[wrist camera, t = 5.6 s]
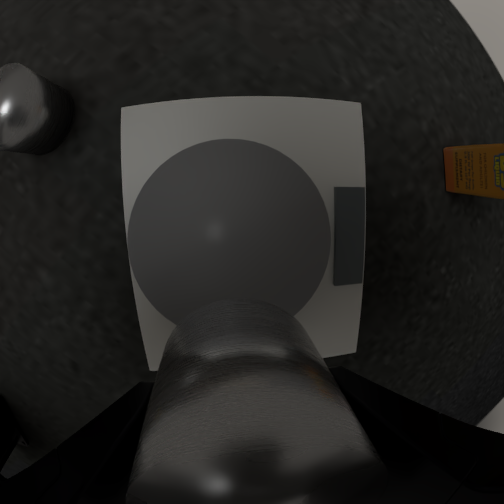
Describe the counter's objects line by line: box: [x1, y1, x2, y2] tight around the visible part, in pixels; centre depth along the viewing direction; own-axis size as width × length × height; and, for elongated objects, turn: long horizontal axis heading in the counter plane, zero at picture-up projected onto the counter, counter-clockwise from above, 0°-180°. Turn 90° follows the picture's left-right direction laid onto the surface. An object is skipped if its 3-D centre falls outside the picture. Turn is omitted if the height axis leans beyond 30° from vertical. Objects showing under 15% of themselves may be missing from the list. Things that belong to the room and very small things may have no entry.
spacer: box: [125, 298, 389, 504], centre depth 6 cm, size 4×4×5 cm
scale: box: [121, 96, 366, 371], centre depth 15 cm, size 14×12×3 cm
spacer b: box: [0, 63, 74, 155], centre depth 11 cm, size 4×4×5 cm
